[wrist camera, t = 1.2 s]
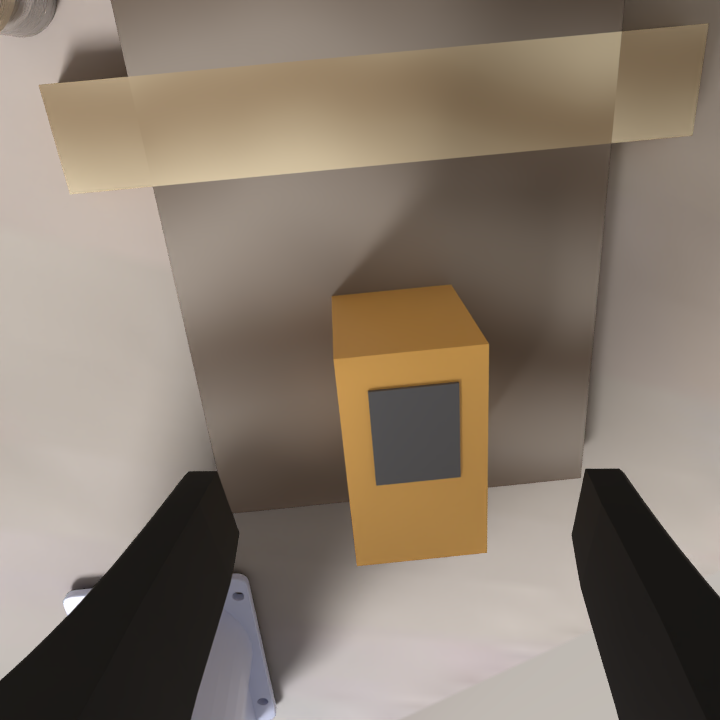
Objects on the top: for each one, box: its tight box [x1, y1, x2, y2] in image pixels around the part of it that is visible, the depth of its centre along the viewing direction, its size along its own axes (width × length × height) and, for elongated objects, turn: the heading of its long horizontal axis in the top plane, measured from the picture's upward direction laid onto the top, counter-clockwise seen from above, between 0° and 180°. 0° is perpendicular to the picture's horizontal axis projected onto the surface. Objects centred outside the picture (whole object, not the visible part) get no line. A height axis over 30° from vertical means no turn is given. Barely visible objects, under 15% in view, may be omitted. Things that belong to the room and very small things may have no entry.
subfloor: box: [39, 0, 709, 513], centre depth 19 cm, size 20×19×1 cm
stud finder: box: [332, 285, 489, 566], centre depth 19 cm, size 7×4×5 cm, turn 5°
